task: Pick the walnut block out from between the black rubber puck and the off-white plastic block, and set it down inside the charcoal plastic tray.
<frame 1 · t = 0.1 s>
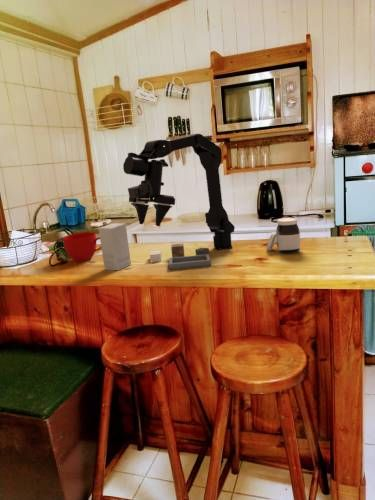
hand: (149, 225, 135), 15 cm above the countertop, tool pointing down, fingers open, 9 cm apart
ceramic cup: (87, 260, 162), on the countertop
skincare box: (118, 267, 146), on the countertop
charcoal tray: (190, 264, 140), on the countertop
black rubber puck: (202, 257, 149), on the countertop
off-white plastic block: (156, 260, 152), on the countertop
walnut block: (178, 258, 151), on the countertop
spread jar: (282, 251, 146), on the countertop
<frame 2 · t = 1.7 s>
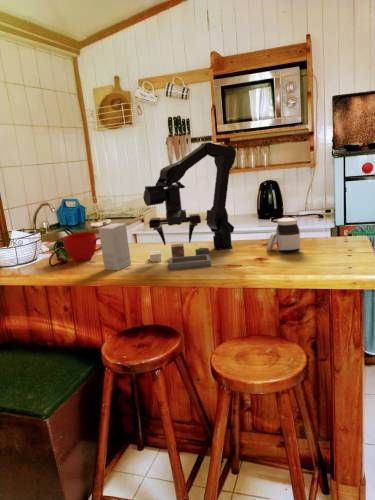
hand: (177, 243, 149), 5 cm above the countertop, tool pointing down, fingers open, 9 cm apart
nothing on the countertop moved.
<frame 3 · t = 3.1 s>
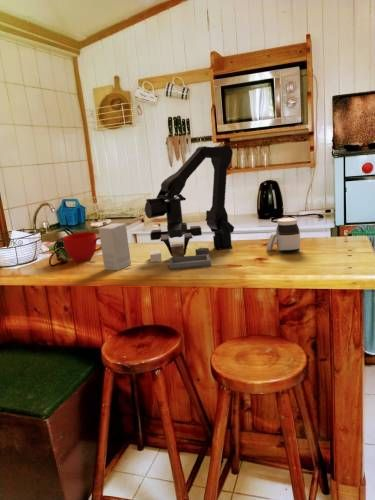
hand: (178, 255, 150), 1 cm above the countertop, tool pointing down, fingers closed on walnut block, 4 cm apart
walnut block: (178, 258, 151), on the countertop, touching gripper
everything else where it was.
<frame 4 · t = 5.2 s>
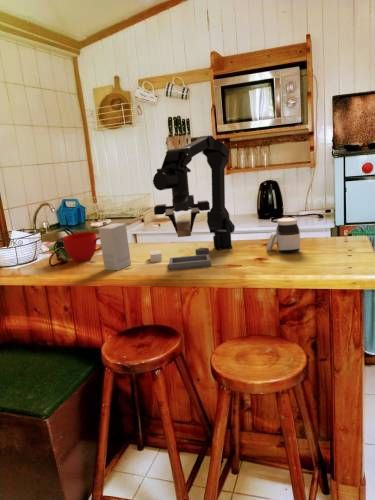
hand: (184, 232, 139), 11 cm above the countertop, tool pointing down, fingers closed on walnut block, 4 cm apart
walnut block: (184, 235, 139), point 10 cm above the countertop, touching gripper
everything else where it was.
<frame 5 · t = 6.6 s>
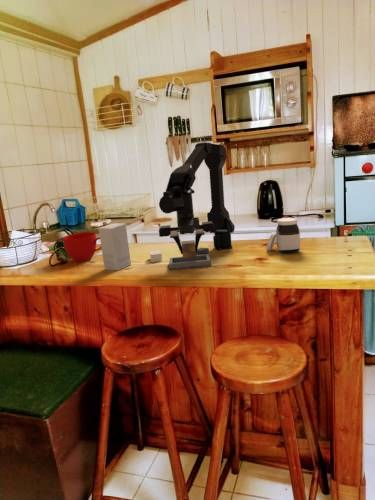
hand: (189, 253, 139), 4 cm above the countertop, tool pointing down, fingers closed on walnut block, 4 cm apart
walnut block: (189, 256, 139), point 3 cm above the countertop, touching gripper
everything else where it was.
when the fingers open (3 cm above the countertop, at t = 7.6 s): walnut block drops 1 cm, resting on charcoal tray.
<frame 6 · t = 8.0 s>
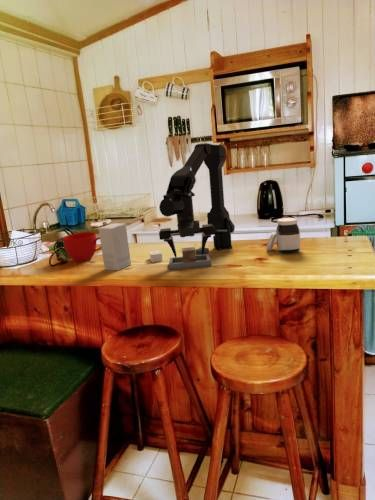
hand: (189, 256, 139), 3 cm above the countertop, tool pointing down, fingers open, 9 cm apart
walnut block: (189, 262, 140), point 1 cm above the countertop, touching charcoal tray
everything else where it was.
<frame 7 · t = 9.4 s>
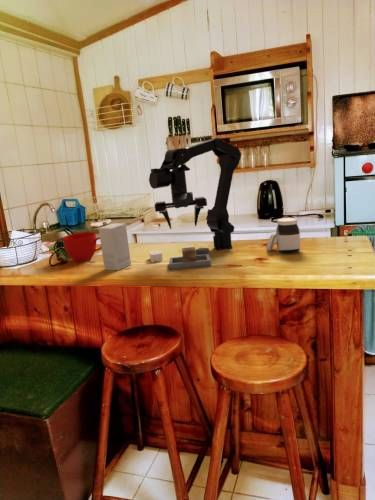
hand: (183, 227, 148), 11 cm above the countertop, tool pointing down, fingers open, 9 cm apart
nothing on the countertop moved.
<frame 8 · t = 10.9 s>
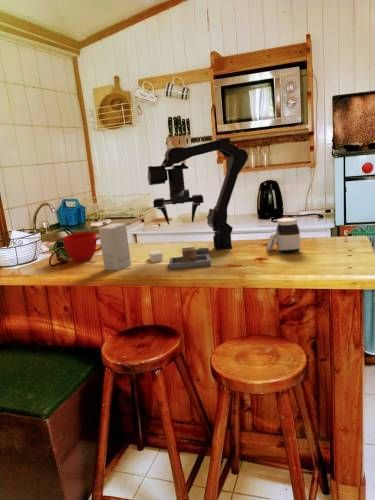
hand: (180, 223, 154), 12 cm above the countertop, tool pointing down, fingers open, 9 cm apart
nothing on the countertop moved.
at the end: walnut block inside the target area on the charcoal tray (0.0 cm from its centre), point 0.6 cm above the charcoal tray's base; walnut block tilted 0°; the gripper is holding nothing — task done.
